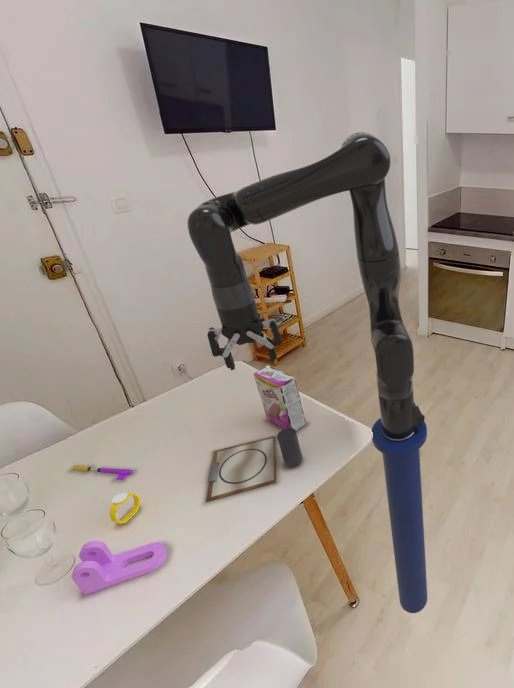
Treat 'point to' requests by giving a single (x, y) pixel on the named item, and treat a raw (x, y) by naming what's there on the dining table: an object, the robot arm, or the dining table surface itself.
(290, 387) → the candy bar box
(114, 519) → the watch
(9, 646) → the dining table surface
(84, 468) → the purple pen tool
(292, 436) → the dark gray cylinder
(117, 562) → the bracket
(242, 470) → the clipboard
